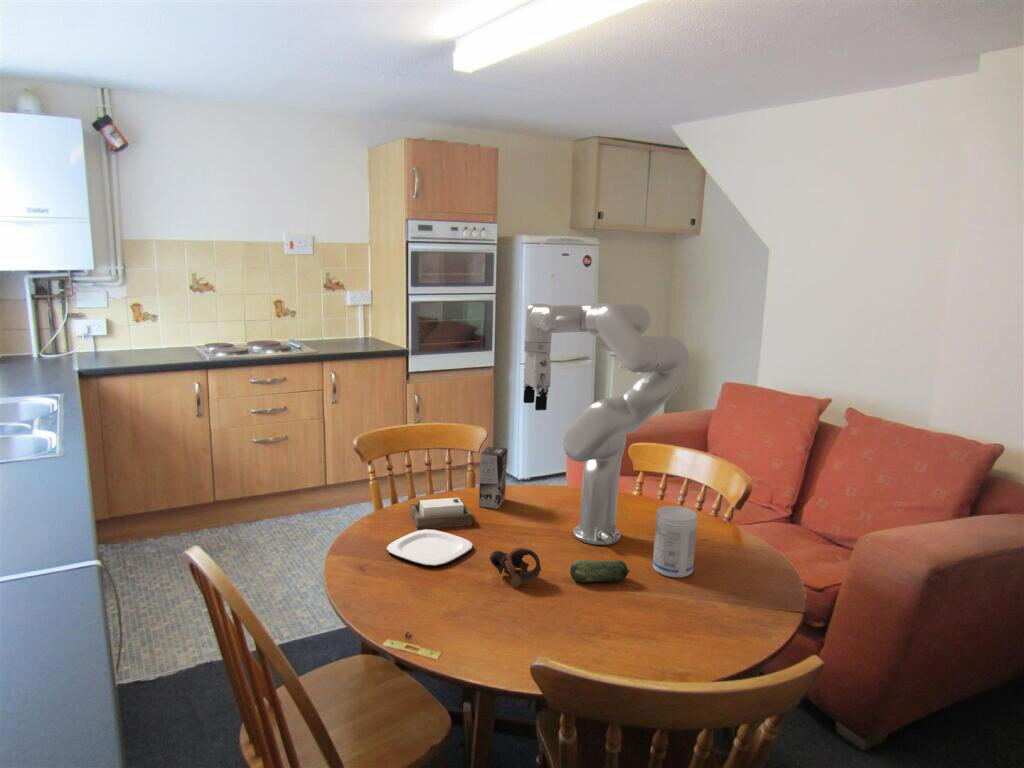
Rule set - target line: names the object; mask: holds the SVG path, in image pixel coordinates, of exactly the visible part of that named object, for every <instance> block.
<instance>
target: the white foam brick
mask: <svg viewBox="0 0 1024 768" xmlns="http://www.w3.org/2000/svg"><path fill="white" fill-rule="evenodd" d="M419 500H420V507H419V514H420V516H421V517H430V516H443V515H456V514H463V512H464V505H463V503H464V502H463V503H462V502H461V501H462V500H461V499H460V498H459V497H446V498H435V499H434V498H433V499H419Z"/></svg>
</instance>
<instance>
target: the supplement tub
mask: <svg viewBox="0 0 1024 768" xmlns="http://www.w3.org/2000/svg"><path fill="white" fill-rule="evenodd" d="M697 528H698V514H697V512H695V511H694V510H692V509H690V508H688V507H684V506H680V505H679V506H678V505H666V506H661V507H659V508H658V509H657V511H656V516H655V528H654V541H653V542H654V543H653V555H652V556H653V557H652V568H653V569H654V570H655V572H657V573H658V574H660V575H663V576H665V577H669V578H674V579H675V578H679V579H680V578H686V577H688V576H690V575H691V574H692V573H693V571H694V563H695V551H696V543H697V541H696V539H697Z"/></svg>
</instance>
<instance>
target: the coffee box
mask: <svg viewBox="0 0 1024 768" xmlns="http://www.w3.org/2000/svg"><path fill="white" fill-rule="evenodd" d="M507 458H508V448H507V447H497V446H495V447H492V446H487V447H485V449H484V450H483V451H482V452H481V453H480V467H479V486H478V488H479V489H478V490H479V491H478V507H480V506H481V508H482V507H483V508H489V509H496V510H497V509H500V507H501V505H502V504H503V502H504V501H505V500H506V489H507V488H506V486H507V485H506V484H507V483H506V482H507V481H506V480H507V462H508V461H507V460H508V459H507Z"/></svg>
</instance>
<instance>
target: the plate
mask: <svg viewBox="0 0 1024 768" xmlns="http://www.w3.org/2000/svg"><path fill="white" fill-rule="evenodd" d="M473 546H474V544H473V542H471V541H470V540H469V539H466V538H463V537H461V536H457V535H455V534H452V533H449V532H444V531H441V530H437V529H419V530H415V531H413V532H409V533H408V534H406V535H403V536H402V537H400V538H397V539H396V540H393V541H392V542H391V543H389V544H388V545H387V547H386V550H387V552H389V554H391V555H393V556H396V557H398V558H400V559H403V560H405V561H409V562H412V563H415V564H418V565H422V566H427V567H429V566H430V567H437V566H442V565H446V564H448V563H451V562H453V561H455V560H457V559H459V558H460V557H461V556H464V555H466V554H467V553H468V552H469V551H471V550H472V549H473Z"/></svg>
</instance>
